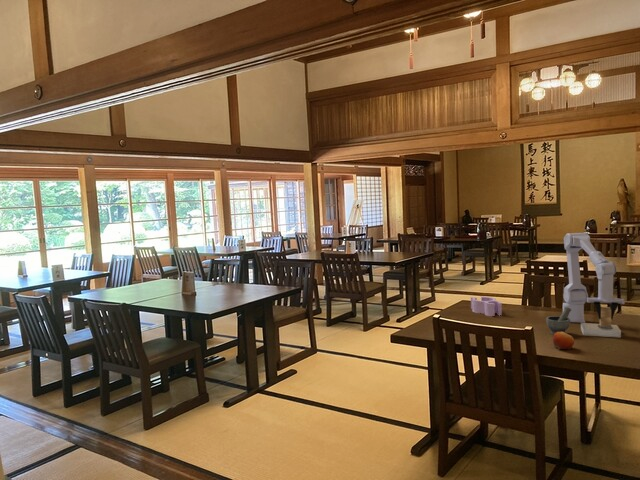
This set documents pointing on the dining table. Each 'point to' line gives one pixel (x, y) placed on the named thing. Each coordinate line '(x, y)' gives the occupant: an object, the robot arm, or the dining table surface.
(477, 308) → the clip
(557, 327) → the mortar and pestle
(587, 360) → the dining table surface
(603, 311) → the peg
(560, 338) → the fruit
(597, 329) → the white rectangular slab
